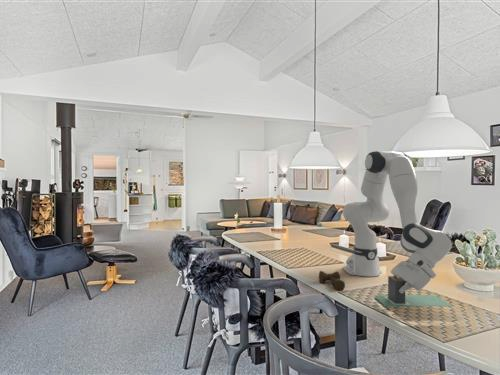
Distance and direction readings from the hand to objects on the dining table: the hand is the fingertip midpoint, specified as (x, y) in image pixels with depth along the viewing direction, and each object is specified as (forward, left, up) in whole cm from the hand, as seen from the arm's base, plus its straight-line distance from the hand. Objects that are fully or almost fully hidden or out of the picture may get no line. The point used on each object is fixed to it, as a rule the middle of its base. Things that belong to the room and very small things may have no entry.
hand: (395, 288), depth 138 cm
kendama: (-30, -13, -7) cm, 34 cm away
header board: (+1, +7, -6) cm, 9 cm away
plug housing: (0, +1, -5) cm, 5 cm away
